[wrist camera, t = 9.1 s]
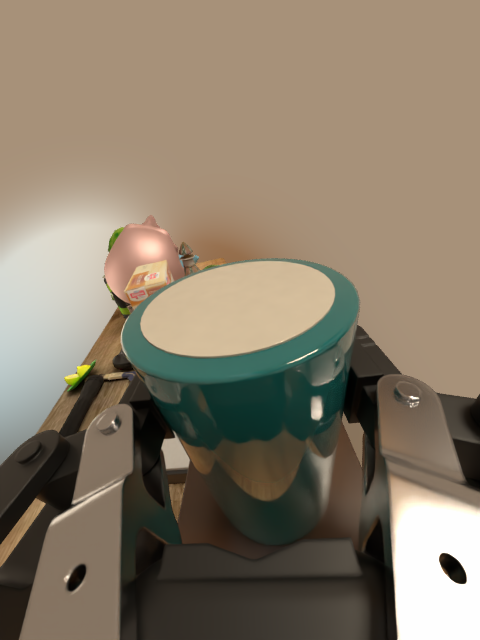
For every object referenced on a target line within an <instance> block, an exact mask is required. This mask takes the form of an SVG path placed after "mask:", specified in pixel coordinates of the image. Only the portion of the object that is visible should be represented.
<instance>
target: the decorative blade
mask: <svg viewBox="0 0 480 640" xmlns="http://www.w3.org/2000/svg"><path fill="white" fill-rule="evenodd" d="M135 374H136V372H135V371H133V372H119V373H111V374H100V375H99V376H101V377H102V378H103V380H104V379H109V380H111V379H120V378H125V377H128V379H129V380H130V381H132V379H133V377H134V375H135ZM90 376H91V375H90ZM88 377H89V376H88ZM88 377H87V378H88ZM87 378H86V379H85V380H84V382H86V381H87Z"/></svg>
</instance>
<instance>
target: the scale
mask: <svg viewBox="0 0 480 640" xmlns="http://www.w3.org/2000/svg"><path fill="white" fill-rule="evenodd" d="M161 449H162V450H163V453H164V458H165V465H166V472H167V479H168V484H173V483H185V482H186V477H187V472H188V466H189V461H190V459H189V457H188V456H187V454H186V452H185V451H184V449H183V448H182V446H181V444H180V443H179V441H178V440H177V438H176V436H175V438H173V439H164V441H163V444H162V448H161Z"/></svg>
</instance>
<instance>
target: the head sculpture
mask: <svg viewBox="0 0 480 640" xmlns="http://www.w3.org/2000/svg"><path fill="white" fill-rule="evenodd" d="M164 260H167V263H168V266H169V269H170V271H171V274H172V277H173V279H174V281H176V280H178V279H180V278H182V277H185V276H184V275H185V272H184V268H183V267H182V265H181V262H180V260H179V254H178V247H177V246H176V245H174V243H173V241H172V240H171V238H170V235H169V233H168V232H167V231H166V230H164V229H161V228H160V227H159V226H158V225H157V224H156V221H155V219H154V217H153V216H152V215H150V216H149V217H148V218H147V219H146V221H145V222H144V223H143V224H141V225H140V224H128V225H126V226H125V227H124V229H123V231H122V232H121V233H120V235H119V236H118V238H117V239H116V241H115V243H114V244H113V246H112V248H111V250H110V252H109V254H108V256H107V259H106V262H105V268H104V270H105V278H106V281H107V284H108V286H109V287H110V289H111V290H112V291H113V293H114V294H115V295H116V296H118V297H119V298H120V299H122V300H123V301H125V302H127V303H129V304H130V302H129V300H128V298H127V296H126V295H125V293H124V290H125V288H126V286H127V284H128V283H129V281H130V279H131V277H132V275H133V273H134V271H135V269H136V267H138V266H141V265H145V264H150V263H156V262H159V261H164Z"/></svg>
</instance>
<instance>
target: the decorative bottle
mask: <svg viewBox="0 0 480 640" xmlns="http://www.w3.org/2000/svg"><path fill="white" fill-rule="evenodd" d="M191 253H192V249H191V248H190V247H189V246H188V245H187V244H186V243H184V242H182V244H181V247H180V250H179V254H180V255H182V257H181V258H180V260H182V262H183V265H184V272H185V275H184V276H187V275H190V274H192V273H195V272H198V271H201V270H200V269H199V268H198V267H197V266H196V265H195V263H194V260H193V258H194V257H195V256H194V255H189V254H191Z"/></svg>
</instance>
